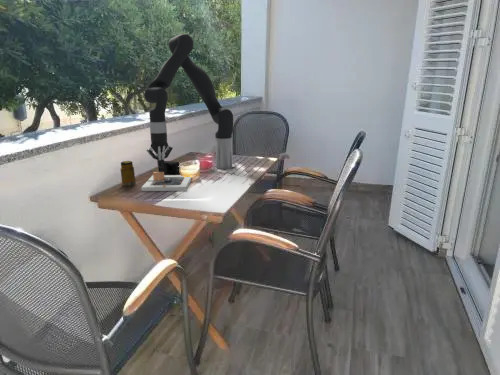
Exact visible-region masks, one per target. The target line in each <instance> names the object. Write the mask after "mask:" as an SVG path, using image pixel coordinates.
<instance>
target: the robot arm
mask: <svg viewBox="0 0 500 375" xmlns="http://www.w3.org/2000/svg"><path fill="white" fill-rule="evenodd" d="M194 46H195V45H194V40H193V38H192V36H191V35H190V34H188V33H180V34H178V35H175V36H173V37H171V38H170V39H169V41H168V48H169V50H170V53H171V56H170V57H169V58H168V59H167V60H166V61H165V62H164V64H163V65H162V66H161V67H160V69H159V72H157V75H156V77H155V78H154V79H153V80H152V81H151V82H150V83H149V84H148V86H146V88H145V90H144V95H143V97H144V100H145V101H146V102H147V103H149V104H155V107H154V108H151V109H150V110H149V131H150V132H149V133H150V143H151V144H150V147H149V148H147V149H146V152H147V153H148V155H150V156H151V157H152V159H154V160H155V161H157V162H156V163H157V166H159V167H160V168H162V167H164V161H165V159H167V158H168V157H169V155H170V154H171V152H172V150H173V149H174V148H173V147H172V146H170V145H169V143H168V129H167V124H166V122H167V121H166V111H167V110H166V109H167V103H168V91H167V89H169V88H170V86H171V84H172V82H173V80H174V79H175V76H176V74H177V73H178V71H179V69H180V67H181V68H182V69H183V71H184V72H185V74H186V75H187V77H188V79H189V80H190V82H191V84H192V86H193V87H194V89H195V91H196V92H197V94H198V95H199V97H200V98H201V100H202V102H203V103H204V104H205V106H206V109H208V112H209V115H210V116H211V118H212V120H213V122H214V123H216V125H218V126H217V128H218V129H217V131H216V132H215V140H214V141H215V160H216V161H215V163H216V166H215V168H216V169H221V170H230V169H233V163H234V161H233V138H232V137H233V133H234V114H233V112H232V111H231V110H230V109H228V108H223V107H222V105H221V103H220V102H219V100H218V99H217V96H216V91H215V86H214V84H213V81H212V80H211V78H210V77H209V75H208V73H207V72H206V71H205V70H204V69H203V68H201V67H200V66H199V65H197V64H196V63H195V62H194V61H193V60H192V59H191V57H190V56H189V55H190V54H191V52H192V51H193V49H194Z"/></svg>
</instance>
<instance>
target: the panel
mask: <svg viewBox="0 0 500 375" xmlns="http://www.w3.org/2000/svg"><path fill="white" fill-rule="evenodd" d="M181 175H182V174H179V175H178V174H176V175H172V174H164V178H176V179H179V180H180V181H182V182H180V185H157V183H156V182H157V181H154V180H153V174H152V175H151V177H150V178H149V179H148V180H147V181H146V182H144V184H143V185H142V186H141V192H169V191H170V192H177V191H178V192H179V191H180V192H181V191H184V192H185V191H187V189H188V188H189V186H190V184H191V181H192V180H191V177H185V178H184V177H183V176H181ZM155 184H156V185H155Z"/></svg>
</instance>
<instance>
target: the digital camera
mask: <svg viewBox="0 0 500 375" xmlns="http://www.w3.org/2000/svg"><path fill="white" fill-rule="evenodd" d="M157 166H158V165H157ZM178 166H179V167H178ZM179 169H180V162H179V161H173V160H172V161H171V160H164V167H162V168H160V167H159V166H158V172H164V175H178V174H180V173H179Z"/></svg>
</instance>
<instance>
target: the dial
mask: <svg viewBox="0 0 500 375" xmlns="http://www.w3.org/2000/svg"><path fill="white" fill-rule="evenodd" d="M152 175H153V180H154V181H156V183H155V184H156V185H181V180H179V179H176V178H164V175H165V174H164V172H159V171H153V172H152Z"/></svg>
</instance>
